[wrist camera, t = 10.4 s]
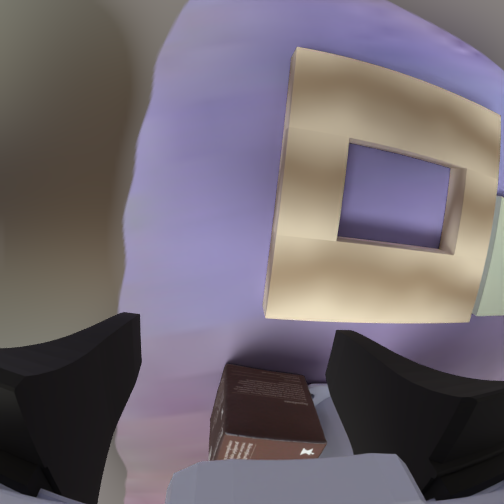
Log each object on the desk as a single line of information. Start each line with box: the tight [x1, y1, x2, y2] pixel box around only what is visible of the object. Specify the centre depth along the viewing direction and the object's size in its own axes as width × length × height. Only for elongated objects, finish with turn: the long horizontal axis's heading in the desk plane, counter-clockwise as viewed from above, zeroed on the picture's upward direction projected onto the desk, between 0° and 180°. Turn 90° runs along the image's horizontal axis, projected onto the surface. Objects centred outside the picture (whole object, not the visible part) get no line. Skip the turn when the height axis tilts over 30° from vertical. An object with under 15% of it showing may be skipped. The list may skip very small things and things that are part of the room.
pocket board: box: [263, 47, 501, 323], centre depth 19 cm, size 16×16×2 cm
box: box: [209, 364, 327, 461], centre depth 19 cm, size 6×6×7 cm
